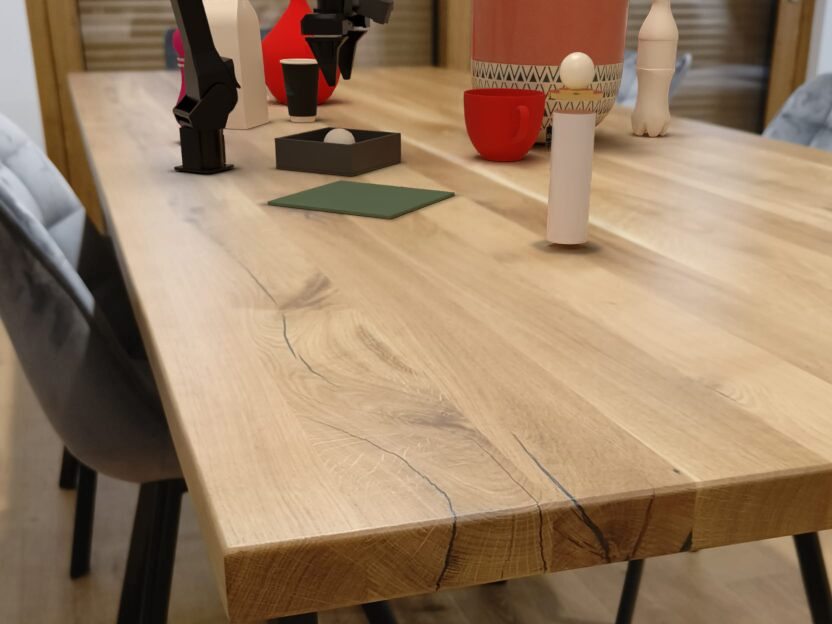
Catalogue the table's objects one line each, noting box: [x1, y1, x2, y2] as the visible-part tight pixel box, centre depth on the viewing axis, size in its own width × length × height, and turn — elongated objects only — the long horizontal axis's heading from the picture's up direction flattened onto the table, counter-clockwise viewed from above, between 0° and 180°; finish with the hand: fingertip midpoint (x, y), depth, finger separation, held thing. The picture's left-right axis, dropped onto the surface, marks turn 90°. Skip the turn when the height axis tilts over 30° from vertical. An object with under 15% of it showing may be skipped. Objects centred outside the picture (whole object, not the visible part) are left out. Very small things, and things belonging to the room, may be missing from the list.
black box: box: [274, 126, 402, 177], centre depth 170 cm, size 15×13×4 cm
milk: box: [202, 0, 270, 130], centre depth 206 cm, size 12×12×26 cm
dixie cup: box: [280, 59, 320, 123], centre depth 215 cm, size 8×8×11 cm
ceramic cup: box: [463, 88, 546, 162], centre depth 175 cm, size 13×17×10 cm
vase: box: [261, 0, 341, 105], centre depth 239 cm, size 18×18×30 cm
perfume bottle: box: [544, 52, 603, 245], centre depth 119 cm, size 6×6×20 cm
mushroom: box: [324, 127, 355, 144], centre depth 169 cm, size 5×5×5 cm
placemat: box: [267, 179, 456, 220], centre depth 146 cm, size 18×18×1 cm
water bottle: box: [630, 0, 680, 138], centre depth 200 cm, size 7×7×25 cm
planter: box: [470, 0, 631, 144], centre depth 191 cm, size 27×27×27 cm
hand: (339, 82), depth 170 cm, fingers open, 9 cm apart
